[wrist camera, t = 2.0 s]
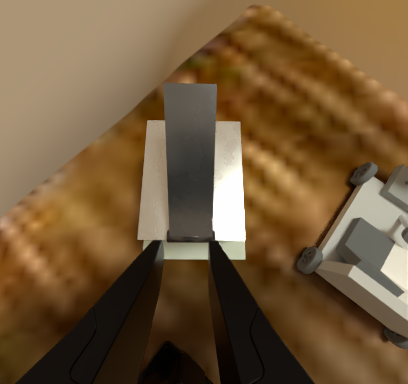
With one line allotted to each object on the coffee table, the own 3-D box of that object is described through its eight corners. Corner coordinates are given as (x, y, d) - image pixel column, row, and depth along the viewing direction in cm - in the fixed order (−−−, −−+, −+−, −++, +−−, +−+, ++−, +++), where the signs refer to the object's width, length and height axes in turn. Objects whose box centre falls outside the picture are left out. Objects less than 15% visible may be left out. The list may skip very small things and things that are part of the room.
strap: (214, 238, 15) (215, 245, 14) (168, 238, 15) (166, 245, 14) (219, 87, 12) (220, 84, 11) (162, 86, 12) (159, 82, 11)
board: (243, 258, 22) (245, 259, 21) (144, 258, 22) (142, 259, 21) (239, 143, 25) (240, 140, 24) (152, 142, 25) (151, 139, 24)
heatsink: (230, 240, 21) (245, 240, 15) (157, 239, 21) (137, 239, 14) (228, 149, 24) (239, 113, 17) (163, 148, 24) (148, 112, 17)
